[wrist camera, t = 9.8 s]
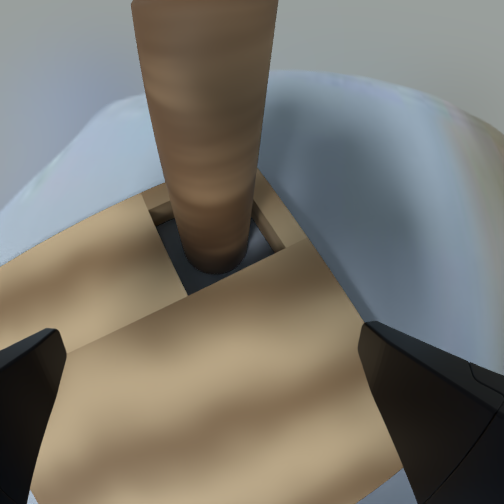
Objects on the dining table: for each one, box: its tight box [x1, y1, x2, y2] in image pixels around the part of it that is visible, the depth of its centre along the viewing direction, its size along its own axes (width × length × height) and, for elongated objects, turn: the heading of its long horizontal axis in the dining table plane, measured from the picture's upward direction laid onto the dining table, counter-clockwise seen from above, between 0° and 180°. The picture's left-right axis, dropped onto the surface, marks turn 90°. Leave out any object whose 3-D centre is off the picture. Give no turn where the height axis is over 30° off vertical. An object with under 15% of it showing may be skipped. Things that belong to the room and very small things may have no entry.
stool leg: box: [131, 0, 278, 274], centre depth 13 cm, size 4×4×15 cm
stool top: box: [0, 168, 403, 504], centre depth 15 cm, size 22×22×2 cm
